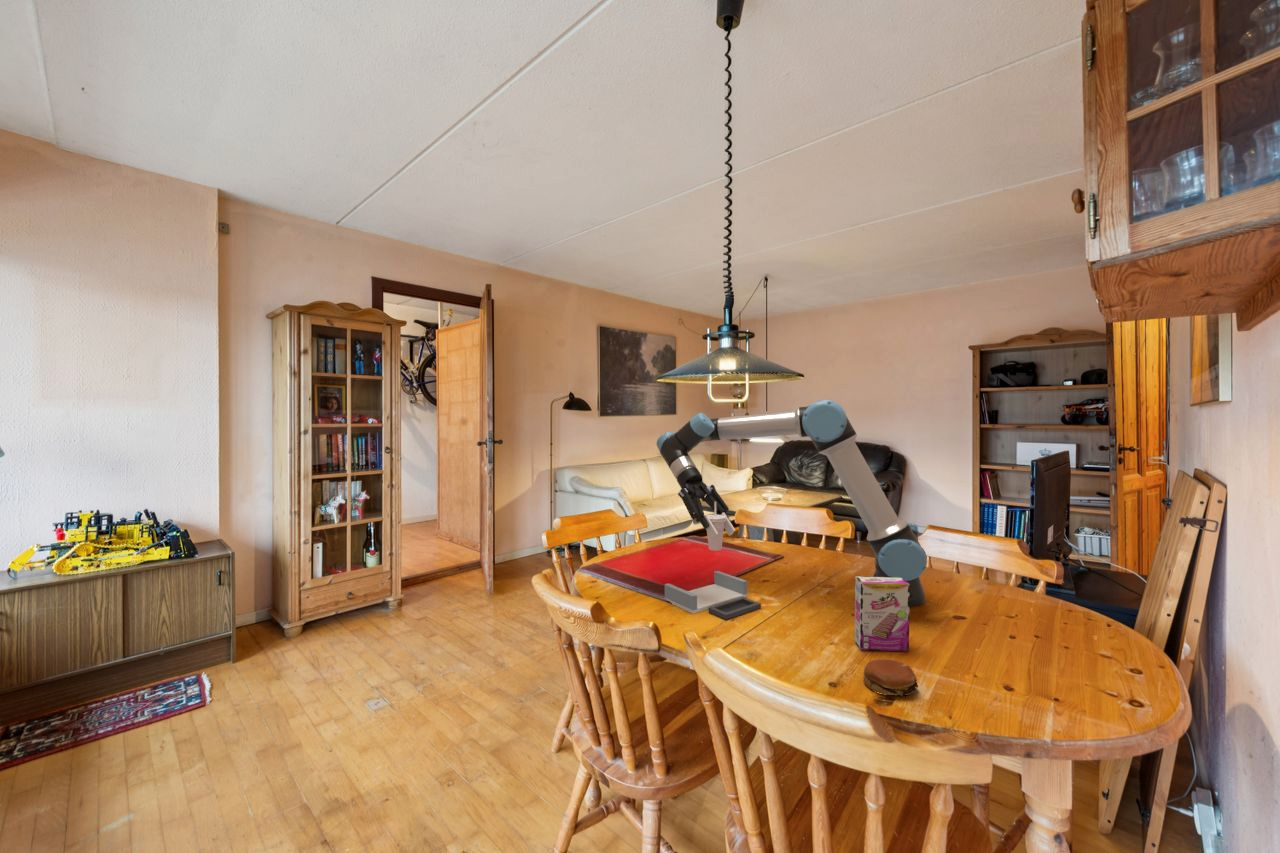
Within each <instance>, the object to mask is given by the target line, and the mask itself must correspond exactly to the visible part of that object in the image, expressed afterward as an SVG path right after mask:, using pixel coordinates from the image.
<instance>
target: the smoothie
mask: <svg viewBox="0 0 1280 853" xmlns="http://www.w3.org/2000/svg"><path fill="white" fill-rule="evenodd" d="M713 511H714V513H713V514H706V515H707V516H708V517H709V519H710V521H711V522H712V524H713V526H714V527H715V529H716V531H717V532H718V535H717V536H716V537H715V538H714V539H711V537H710V535H709V534H708V532H707V531H706V535H707V544H708V545H707V546H708V549H709V550H710V551H716V552H717V551H718V552H719V551H721V550H722V548H723V540H724V539H723V538H724V533H725V532H724V531H725V529H724V524H725V521H726V517H725V516H723V515H718V514H717V513H716V502H714V510H713ZM706 515H704V517H705V516H706Z"/></svg>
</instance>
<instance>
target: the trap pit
mask: <svg viewBox="0 0 1280 853" xmlns="http://www.w3.org/2000/svg"><path fill="white" fill-rule="evenodd" d="M708 608H709V609H708V614H710V615H713V616H715V617H718V618H720V619H722V620H725V621H729V620H732V619H734V618H737V617H740V616H743V615H746V614H751V613H752V612H755V611H758V609H759V610H761V609H762V604H761V602H758V601H755V600H752V599H750V598H748V597H746V598H745V597H741V598H737V599H734V600H731V601H728V602H725V603H721V604H718V605H715V606H712V607H708Z"/></svg>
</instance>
